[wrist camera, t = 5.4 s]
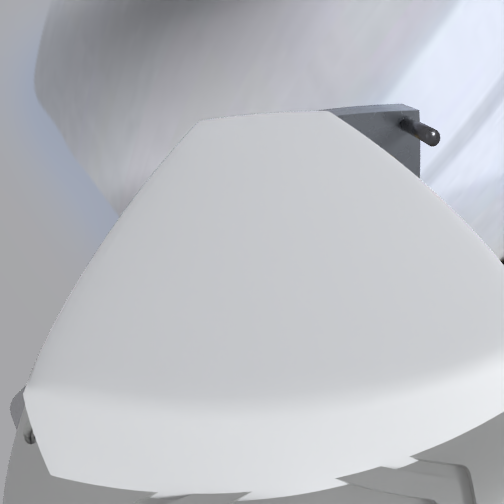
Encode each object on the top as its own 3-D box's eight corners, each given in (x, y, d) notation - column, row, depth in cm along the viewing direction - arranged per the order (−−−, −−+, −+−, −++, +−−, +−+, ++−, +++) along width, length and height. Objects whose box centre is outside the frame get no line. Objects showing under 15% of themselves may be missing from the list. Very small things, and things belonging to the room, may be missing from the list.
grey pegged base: (281, 116, 28) (292, 134, 21) (401, 103, 27) (445, 121, 19) (303, 253, 39) (314, 302, 31) (401, 235, 37) (429, 278, 30)
